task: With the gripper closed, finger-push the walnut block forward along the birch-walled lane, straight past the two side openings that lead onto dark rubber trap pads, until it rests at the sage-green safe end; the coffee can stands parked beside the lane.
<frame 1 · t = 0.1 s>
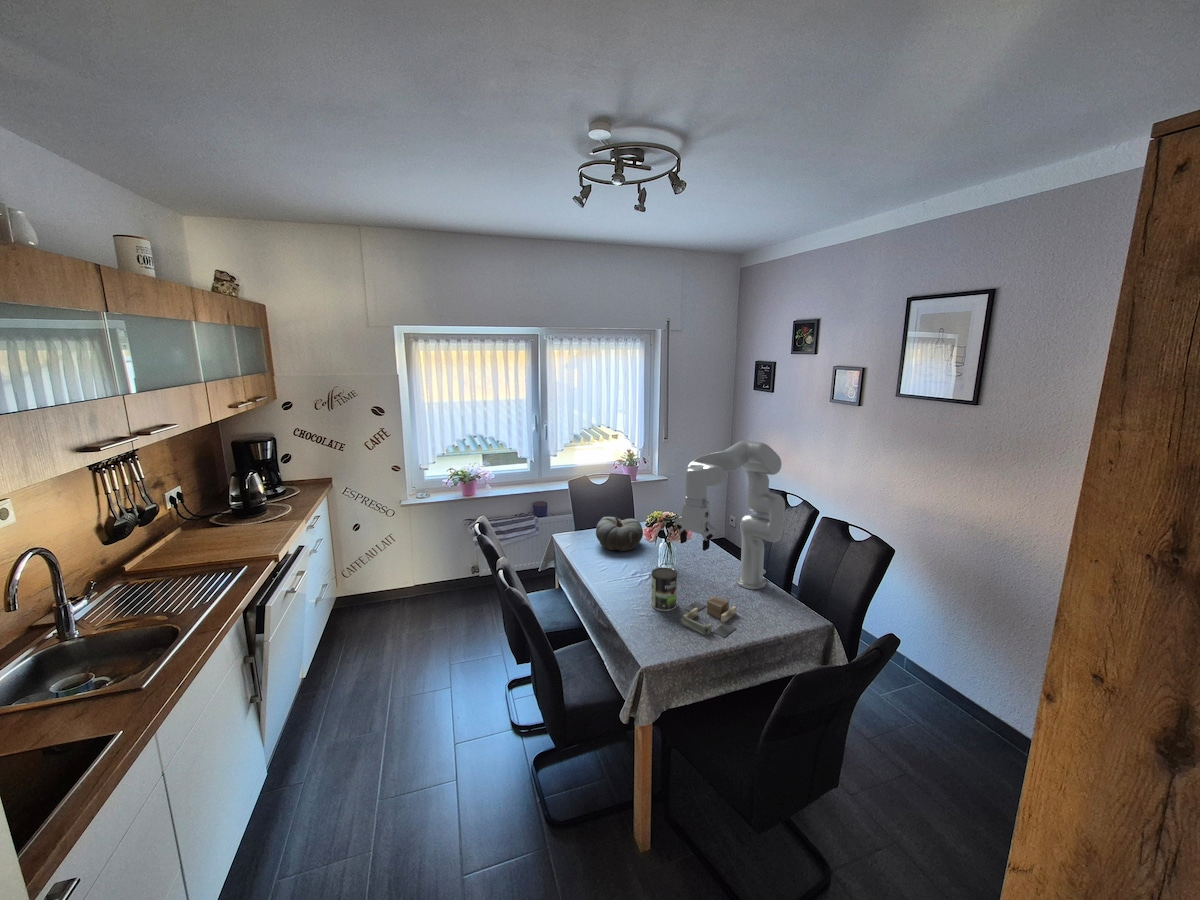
hand: (694, 545, 176), 31 cm above the table, fingers open, 9 cm apart
gourd: (619, 546, 256), on the table
block: (717, 613, 189), on the table
trap lane: (709, 618, 185), on the table
coffee can: (663, 605, 195), on the table
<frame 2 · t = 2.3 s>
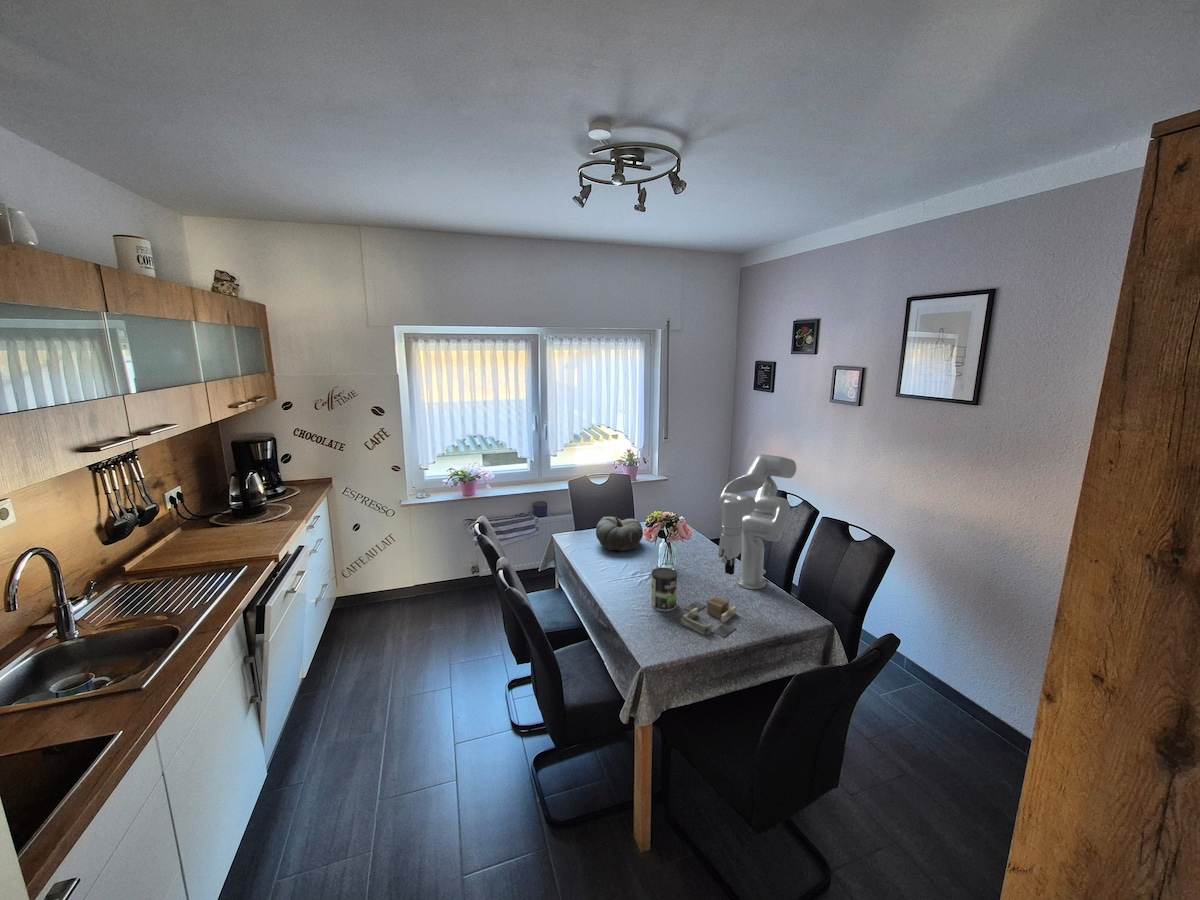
hand: (729, 573, 191), 14 cm above the table, fingers closed
nothing on the table moved.
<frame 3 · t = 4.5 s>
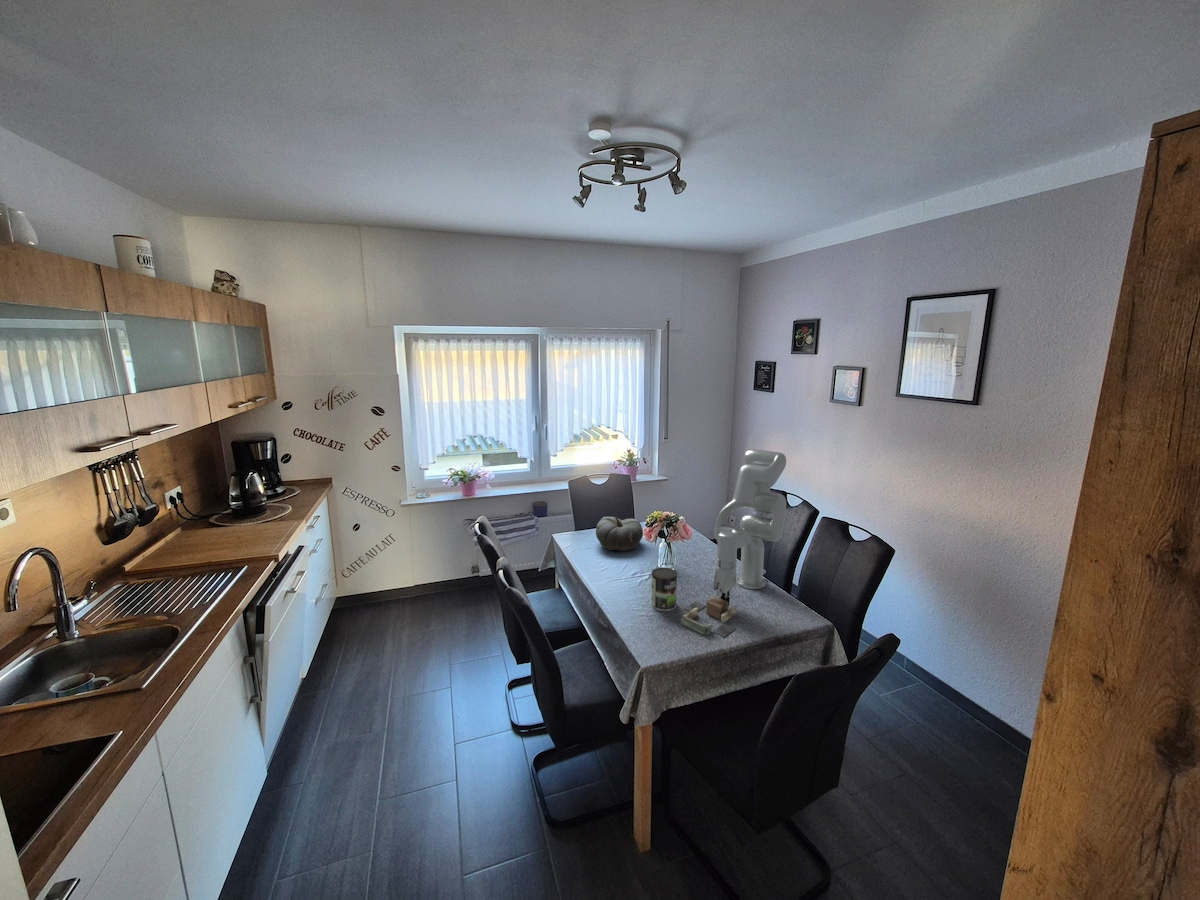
hand: (724, 605, 192), 1 cm above the table, fingers closed
block: (717, 613, 188), on the table, touching gripper
everything else where it was.
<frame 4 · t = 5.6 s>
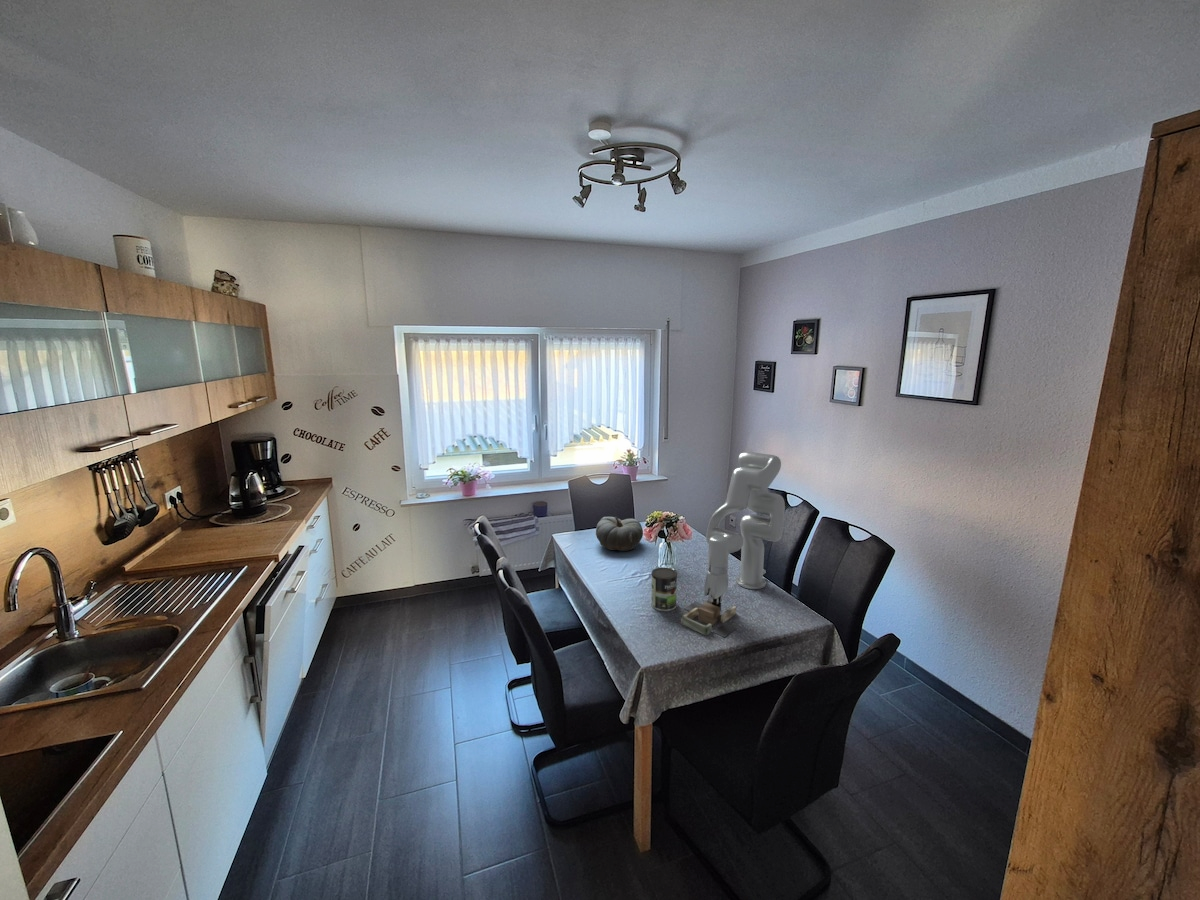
hand: (716, 611, 188), 1 cm above the table, fingers closed
block: (708, 619, 184), on the table, touching gripper
everything else where it was.
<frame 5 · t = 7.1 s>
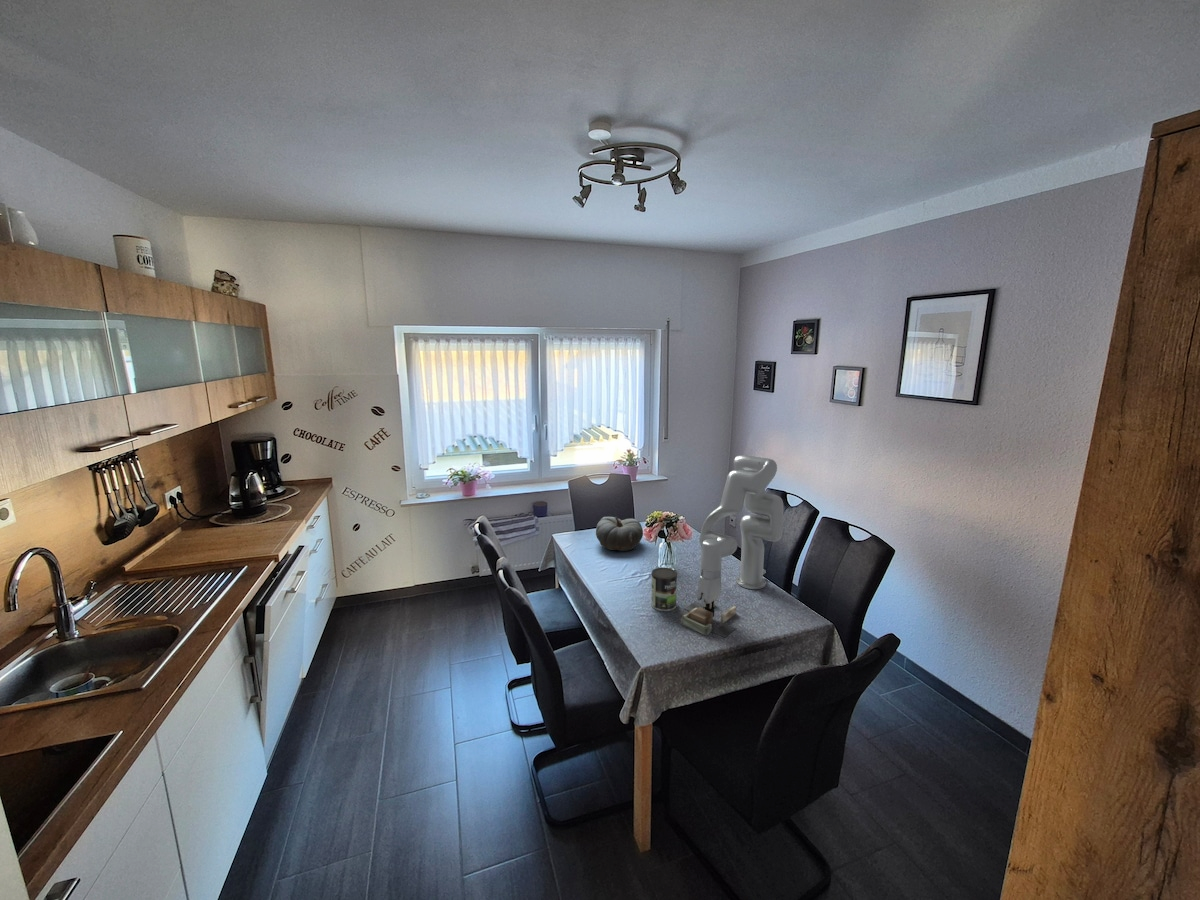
hand: (709, 616, 184), 1 cm above the table, fingers closed
block: (701, 624, 181), on the table
everything else where it was.
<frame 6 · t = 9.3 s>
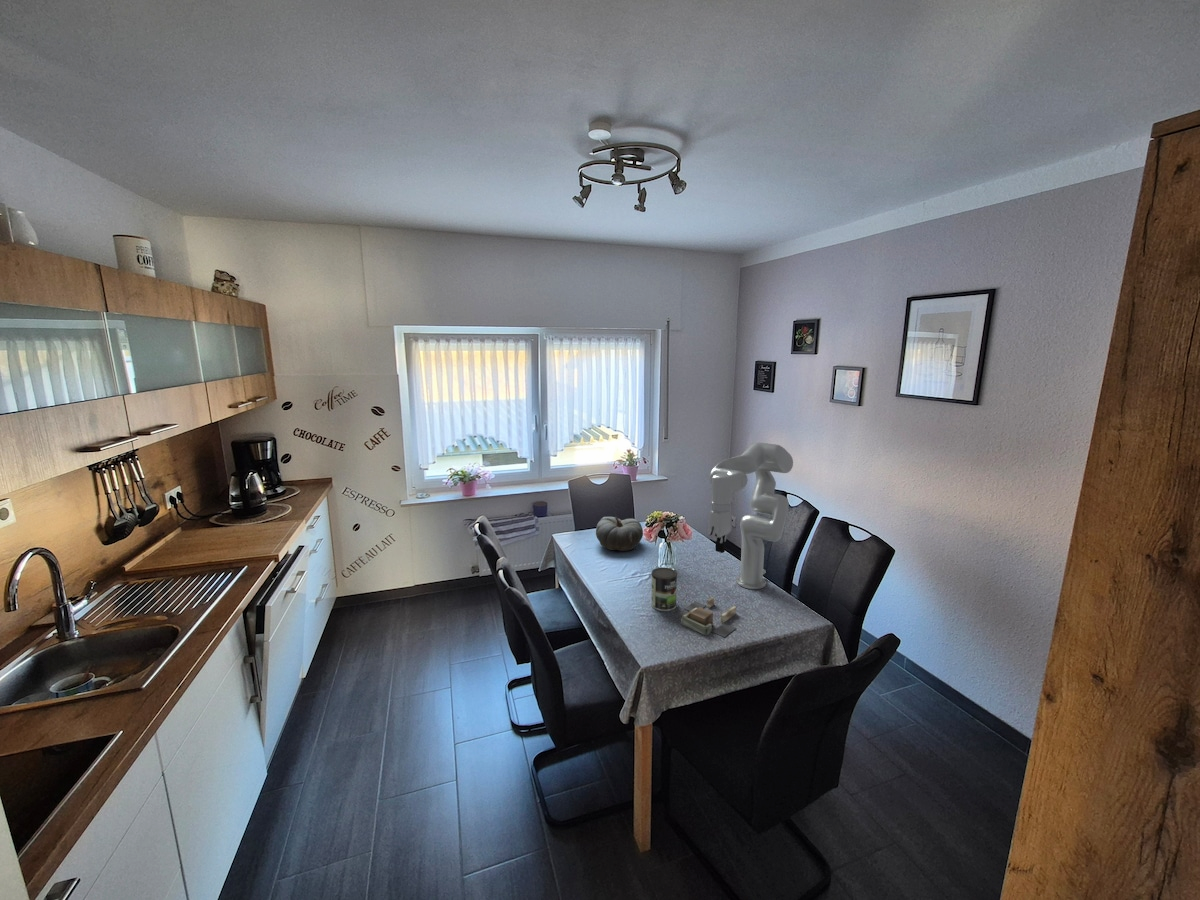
hand: (720, 551, 184), 26 cm above the table, fingers closed
nothing on the table moved.
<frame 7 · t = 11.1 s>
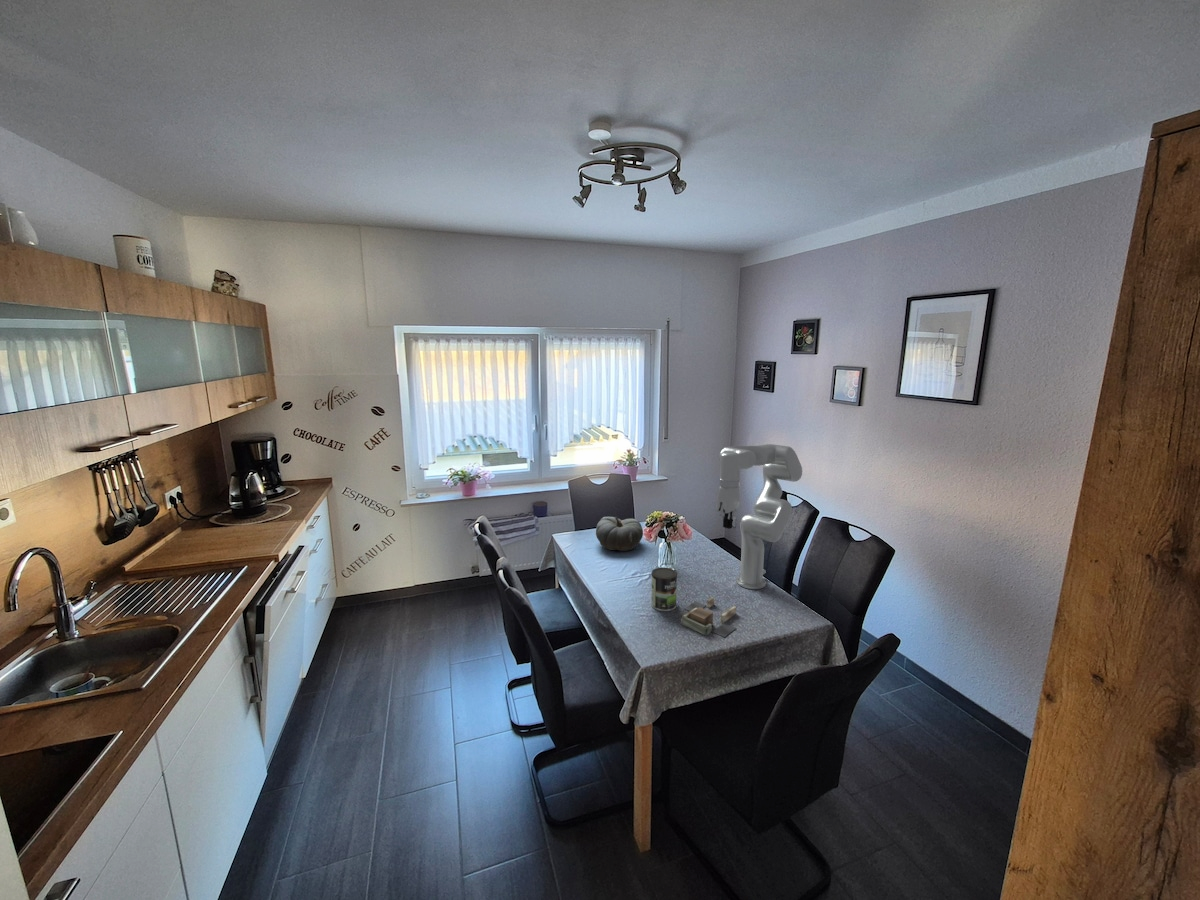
hand: (727, 527, 191), 32 cm above the table, fingers closed
nothing on the table moved.
at the end: block inside the target area (0.1 cm from its centre), on the table; block tilted 0° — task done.
